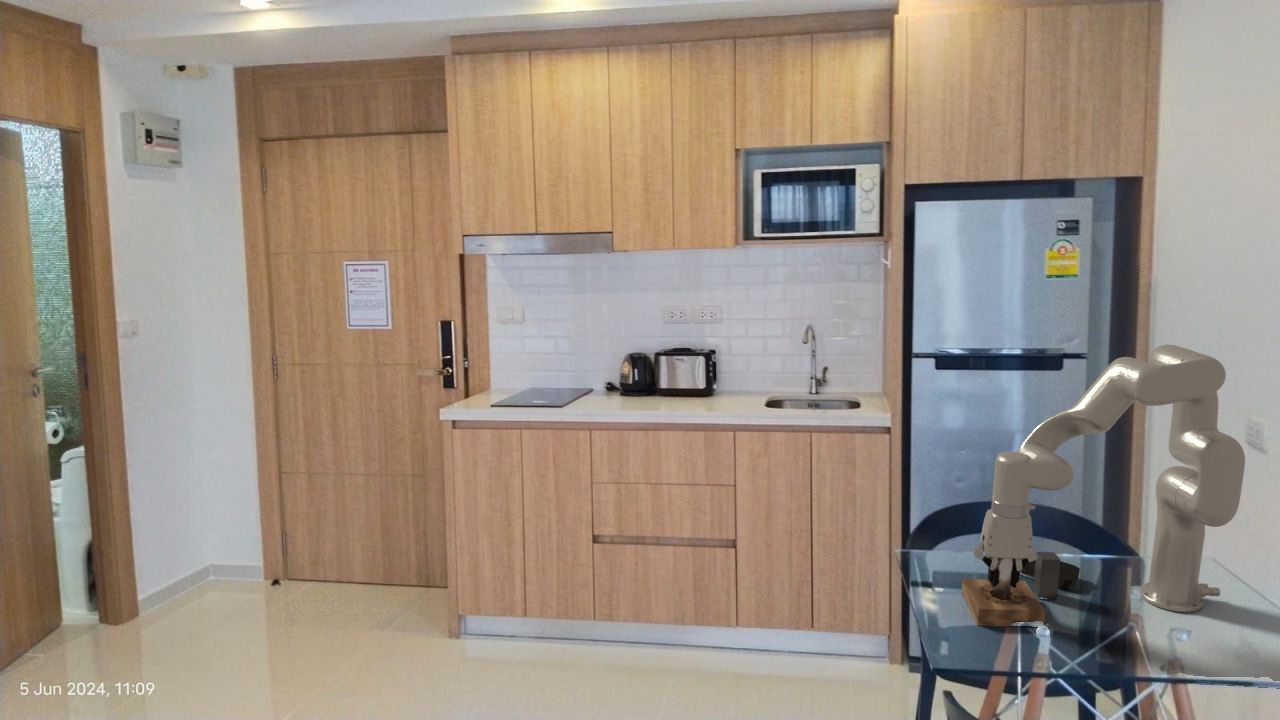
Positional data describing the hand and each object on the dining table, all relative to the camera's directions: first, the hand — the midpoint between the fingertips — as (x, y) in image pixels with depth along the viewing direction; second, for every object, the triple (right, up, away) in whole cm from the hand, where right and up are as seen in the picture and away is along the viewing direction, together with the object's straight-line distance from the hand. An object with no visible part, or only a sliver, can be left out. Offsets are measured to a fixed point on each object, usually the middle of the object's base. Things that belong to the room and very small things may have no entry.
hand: (1002, 583), depth 201 cm
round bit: (0, -3, +1) cm, 3 cm away
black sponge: (+17, -3, +18) cm, 25 cm away
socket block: (0, -6, +2) cm, 7 cm away
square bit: (+13, -5, +8) cm, 16 cm away
